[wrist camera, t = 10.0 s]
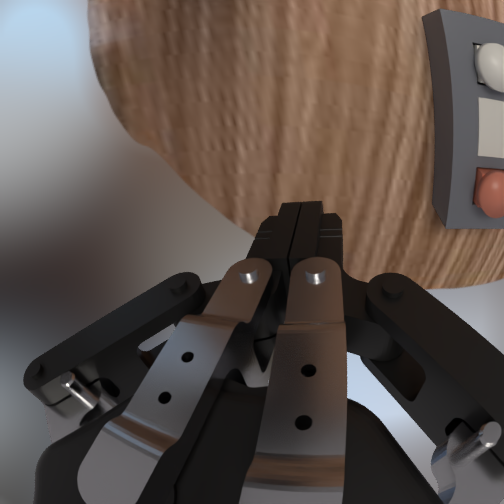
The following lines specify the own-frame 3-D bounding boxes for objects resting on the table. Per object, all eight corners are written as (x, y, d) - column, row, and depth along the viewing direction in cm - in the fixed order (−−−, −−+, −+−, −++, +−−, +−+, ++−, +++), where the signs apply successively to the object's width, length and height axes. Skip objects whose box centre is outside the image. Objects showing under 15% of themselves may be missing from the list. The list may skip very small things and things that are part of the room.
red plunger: (460, 152, 29) (484, 173, 23) (493, 155, 27) (519, 176, 21) (457, 190, 32) (477, 217, 26) (488, 192, 30) (511, 218, 24)
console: (421, 16, 21) (440, 8, 16) (496, 31, 18) (523, 30, 12) (431, 203, 36) (445, 229, 31) (495, 204, 33) (514, 229, 27)
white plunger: (451, 41, 21) (477, 38, 15) (486, 47, 19) (516, 49, 14) (456, 82, 24) (482, 88, 18) (490, 87, 22) (520, 96, 17)
